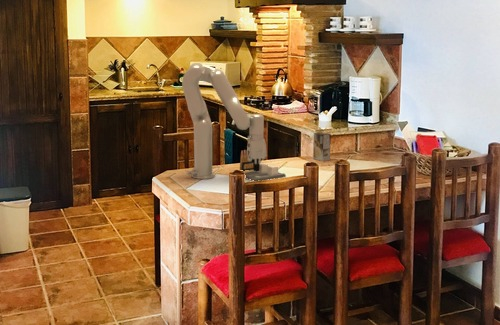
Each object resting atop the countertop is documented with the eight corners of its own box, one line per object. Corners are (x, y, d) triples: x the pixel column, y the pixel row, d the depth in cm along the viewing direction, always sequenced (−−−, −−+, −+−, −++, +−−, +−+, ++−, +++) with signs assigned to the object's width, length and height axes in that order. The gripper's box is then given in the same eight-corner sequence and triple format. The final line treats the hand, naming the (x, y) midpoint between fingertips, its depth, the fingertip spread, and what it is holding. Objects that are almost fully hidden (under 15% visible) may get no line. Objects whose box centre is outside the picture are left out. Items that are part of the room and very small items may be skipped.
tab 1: (261, 173, 354) (261, 165, 353) (257, 172, 358) (257, 164, 357) (267, 172, 356) (267, 164, 356) (263, 171, 360) (263, 163, 359)
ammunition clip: (241, 171, 365) (241, 150, 362) (239, 170, 366) (239, 149, 364) (257, 169, 370) (257, 148, 368) (255, 168, 372) (255, 147, 369)
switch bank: (254, 181, 342) (254, 178, 342) (240, 176, 354) (240, 173, 353) (285, 176, 353) (285, 173, 353) (270, 171, 364) (270, 168, 364)
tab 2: (271, 175, 350) (272, 167, 349) (267, 174, 353) (267, 166, 352) (277, 174, 352) (278, 166, 351) (273, 173, 355) (273, 165, 354)
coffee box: (330, 160, 395) (331, 133, 391) (322, 161, 391) (323, 135, 388) (320, 157, 402) (320, 131, 399) (312, 158, 398) (313, 132, 395)
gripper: (248, 139, 343) (248, 173, 347) (272, 137, 351) (271, 170, 355) (240, 137, 349) (240, 171, 353) (264, 134, 357) (263, 167, 361)
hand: (256, 170), depth 354 cm, fingers closed
